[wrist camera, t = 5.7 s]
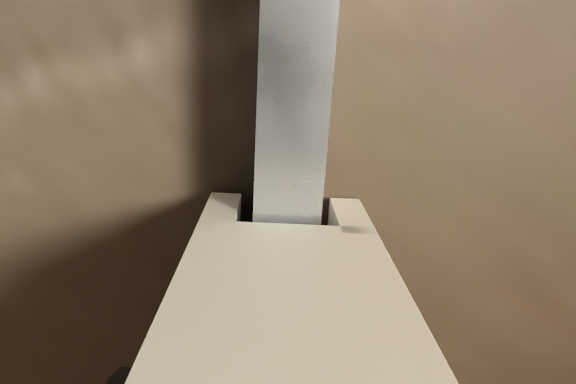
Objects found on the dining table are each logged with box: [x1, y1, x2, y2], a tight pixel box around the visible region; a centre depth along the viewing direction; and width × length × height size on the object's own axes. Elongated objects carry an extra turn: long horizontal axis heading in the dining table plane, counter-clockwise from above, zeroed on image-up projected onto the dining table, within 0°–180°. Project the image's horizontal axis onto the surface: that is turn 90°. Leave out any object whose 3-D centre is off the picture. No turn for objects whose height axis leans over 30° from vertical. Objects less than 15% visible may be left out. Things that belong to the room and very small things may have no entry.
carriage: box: [125, 192, 458, 384], centre depth 14 cm, size 8×6×11 cm
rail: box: [253, 0, 340, 225], centre depth 17 cm, size 26×2×3 cm, turn 177°
